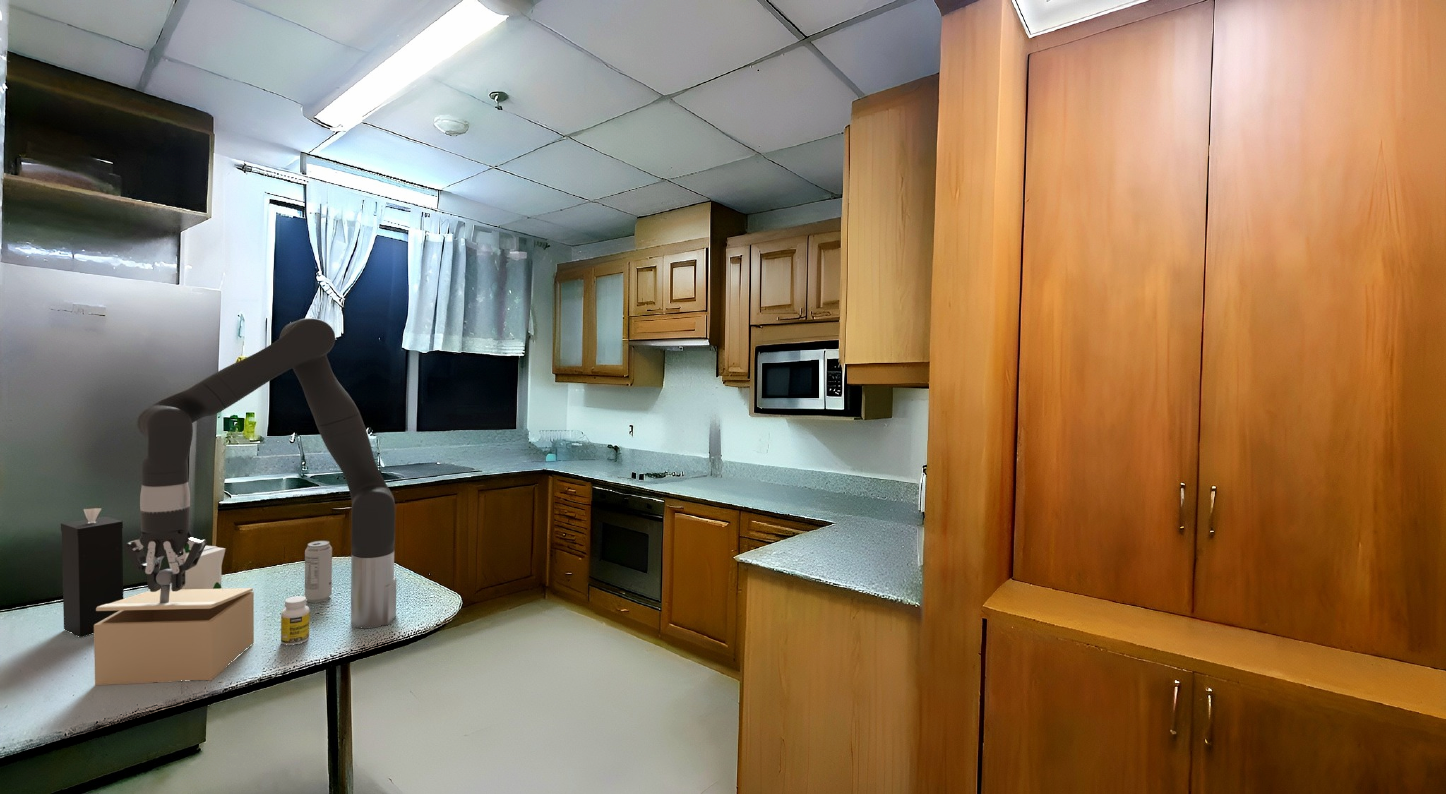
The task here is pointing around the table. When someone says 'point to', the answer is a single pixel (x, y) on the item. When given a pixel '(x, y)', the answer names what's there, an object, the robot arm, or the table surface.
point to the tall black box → (91, 570)
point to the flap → (175, 597)
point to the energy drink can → (318, 571)
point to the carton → (172, 642)
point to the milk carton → (205, 569)
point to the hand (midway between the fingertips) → (166, 589)
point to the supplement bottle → (295, 621)
